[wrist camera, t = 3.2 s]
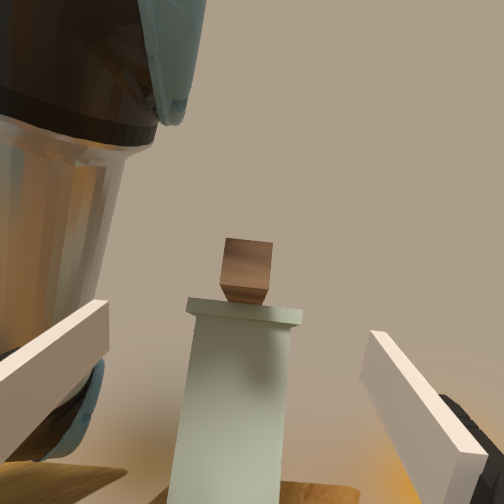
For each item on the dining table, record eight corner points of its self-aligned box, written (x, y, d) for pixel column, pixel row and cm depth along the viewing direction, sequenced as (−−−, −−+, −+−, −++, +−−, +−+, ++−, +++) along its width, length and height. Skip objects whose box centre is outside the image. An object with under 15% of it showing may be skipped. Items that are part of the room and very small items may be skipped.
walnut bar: (268, 289, 20) (272, 242, 21) (219, 284, 20) (226, 237, 21) (256, 316, 45) (258, 294, 46) (234, 314, 45) (237, 292, 46)
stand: (296, 743, 20) (314, 310, 29) (98, 716, 20) (176, 294, 29) (276, 580, 33) (292, 319, 42) (157, 566, 34) (198, 308, 42)
